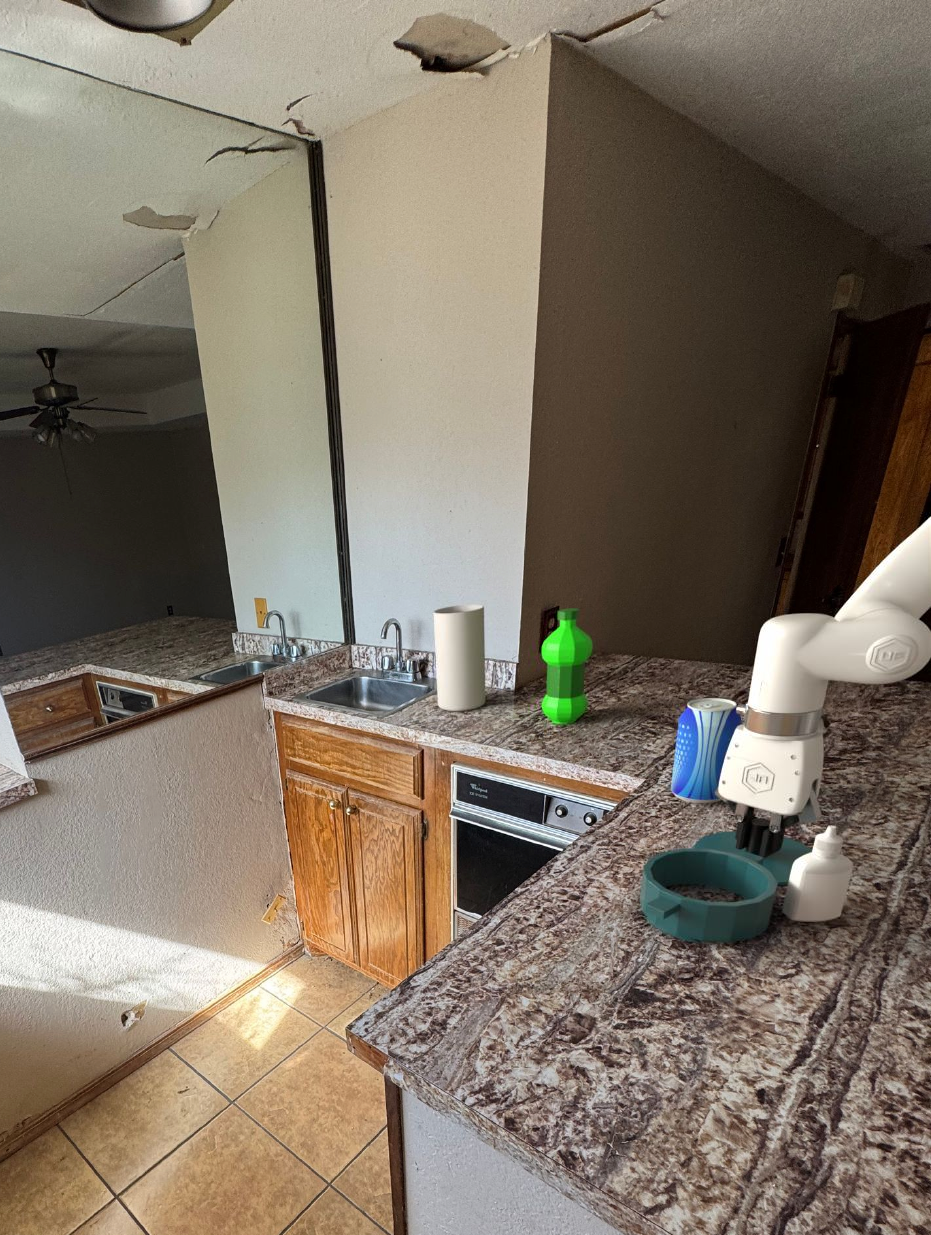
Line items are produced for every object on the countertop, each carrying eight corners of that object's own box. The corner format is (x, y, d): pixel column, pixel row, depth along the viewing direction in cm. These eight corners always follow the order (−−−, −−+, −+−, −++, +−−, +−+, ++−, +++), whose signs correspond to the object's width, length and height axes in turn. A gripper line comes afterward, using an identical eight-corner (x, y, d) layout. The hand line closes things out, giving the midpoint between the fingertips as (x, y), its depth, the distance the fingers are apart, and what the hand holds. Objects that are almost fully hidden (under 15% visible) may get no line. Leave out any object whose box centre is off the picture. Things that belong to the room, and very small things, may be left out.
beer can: (669, 786, 113) (680, 696, 106) (726, 788, 109) (741, 696, 102) (670, 806, 107) (681, 711, 100) (730, 809, 103) (746, 711, 96)
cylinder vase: (450, 715, 168) (446, 615, 157) (430, 704, 179) (425, 611, 168) (494, 705, 170) (493, 606, 159) (472, 696, 181) (469, 603, 170)
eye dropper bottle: (842, 931, 74) (867, 838, 68) (781, 922, 77) (801, 832, 71) (838, 911, 77) (862, 821, 72) (780, 903, 80) (799, 815, 75)
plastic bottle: (558, 711, 158) (562, 605, 147) (597, 718, 150) (604, 606, 139) (531, 722, 154) (533, 613, 143) (569, 730, 146) (574, 615, 135)
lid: (844, 863, 86) (855, 821, 83) (780, 902, 80) (789, 859, 77) (732, 828, 98) (739, 791, 95) (669, 860, 92) (674, 821, 89)
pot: (806, 908, 78) (815, 869, 76) (707, 970, 71) (714, 929, 69) (697, 867, 89) (702, 832, 87) (602, 917, 82) (605, 880, 80)
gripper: (698, 715, 85) (682, 839, 93) (839, 740, 72) (806, 882, 80) (733, 702, 88) (714, 823, 96) (875, 724, 75) (839, 862, 83)
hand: (756, 849), depth 88 cm, fingers closed on lid, 2 cm apart
